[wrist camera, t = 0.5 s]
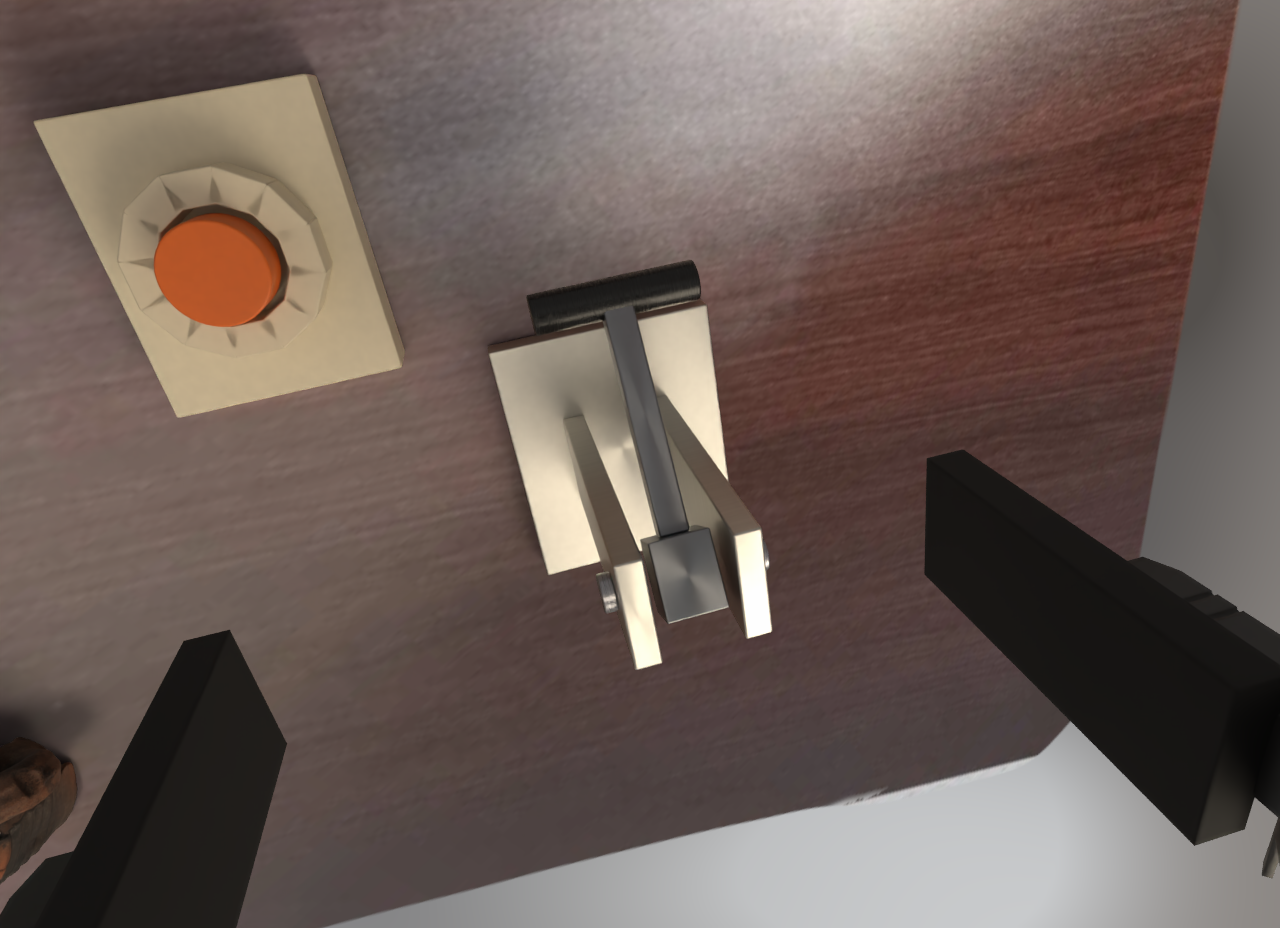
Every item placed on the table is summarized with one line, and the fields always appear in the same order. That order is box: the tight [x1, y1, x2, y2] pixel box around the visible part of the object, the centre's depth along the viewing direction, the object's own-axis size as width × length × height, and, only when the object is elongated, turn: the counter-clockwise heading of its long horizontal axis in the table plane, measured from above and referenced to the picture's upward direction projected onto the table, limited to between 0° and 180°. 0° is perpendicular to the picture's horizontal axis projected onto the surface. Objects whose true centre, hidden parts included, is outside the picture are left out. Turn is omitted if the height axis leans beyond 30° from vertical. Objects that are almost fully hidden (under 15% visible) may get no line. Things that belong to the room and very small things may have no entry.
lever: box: [526, 260, 729, 624], centre depth 27 cm, size 12×6×2 cm, turn 10°
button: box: [154, 213, 281, 327], centre depth 26 cm, size 4×4×2 cm
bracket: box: [488, 299, 772, 670], centre depth 31 cm, size 12×10×14 cm
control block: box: [34, 74, 405, 418], centre depth 28 cm, size 11×9×4 cm
